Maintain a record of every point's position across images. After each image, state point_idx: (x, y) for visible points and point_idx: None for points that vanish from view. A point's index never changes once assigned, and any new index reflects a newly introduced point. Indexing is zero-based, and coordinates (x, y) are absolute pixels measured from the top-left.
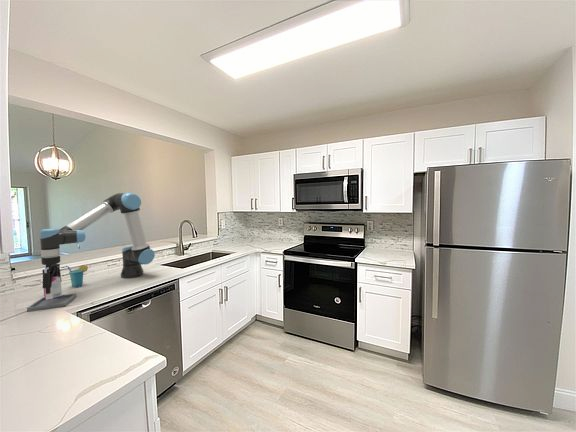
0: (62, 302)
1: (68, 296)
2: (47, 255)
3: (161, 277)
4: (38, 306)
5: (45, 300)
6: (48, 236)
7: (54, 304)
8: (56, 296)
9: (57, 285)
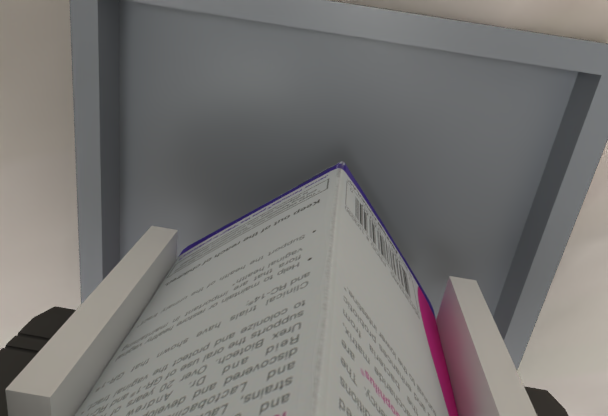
0: (397, 122)
1: (116, 90)
2: None
3: None
4: None
5: None
6: None
7: (578, 204)
8: (391, 244)
9: (382, 385)
